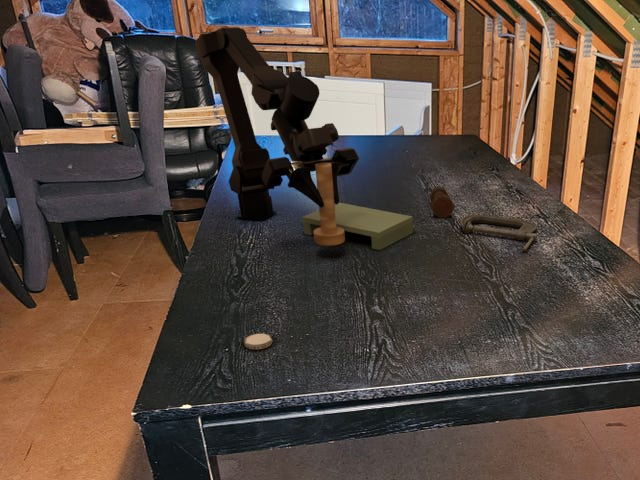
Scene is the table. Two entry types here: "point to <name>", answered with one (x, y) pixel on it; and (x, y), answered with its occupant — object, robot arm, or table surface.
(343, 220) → the shelf
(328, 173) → the wooden peg stand
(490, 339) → the table surface
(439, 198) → the bolt
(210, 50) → the robot arm
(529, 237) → the c clamp
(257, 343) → the tan bottle cap
